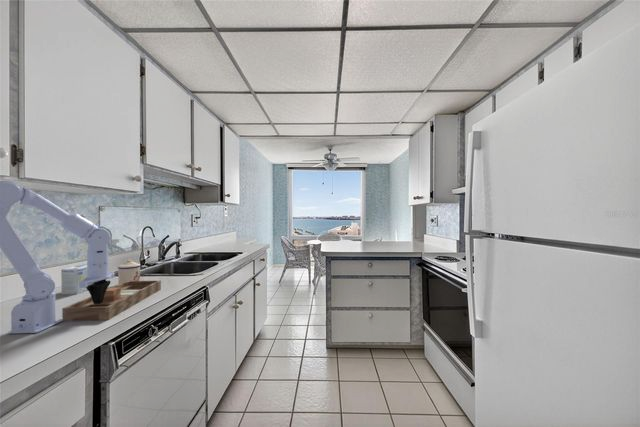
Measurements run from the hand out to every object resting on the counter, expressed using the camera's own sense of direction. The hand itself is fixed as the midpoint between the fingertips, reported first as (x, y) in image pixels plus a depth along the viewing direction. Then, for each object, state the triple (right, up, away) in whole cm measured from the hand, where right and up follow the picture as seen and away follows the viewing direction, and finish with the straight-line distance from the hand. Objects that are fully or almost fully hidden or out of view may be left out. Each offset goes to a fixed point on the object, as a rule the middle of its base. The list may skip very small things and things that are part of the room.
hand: (98, 303), depth 98 cm
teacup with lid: (-16, -3, +41) cm, 44 cm away
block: (-1, -1, +7) cm, 7 cm away
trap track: (-1, -4, +12) cm, 13 cm away
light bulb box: (-30, -4, +28) cm, 41 cm away
